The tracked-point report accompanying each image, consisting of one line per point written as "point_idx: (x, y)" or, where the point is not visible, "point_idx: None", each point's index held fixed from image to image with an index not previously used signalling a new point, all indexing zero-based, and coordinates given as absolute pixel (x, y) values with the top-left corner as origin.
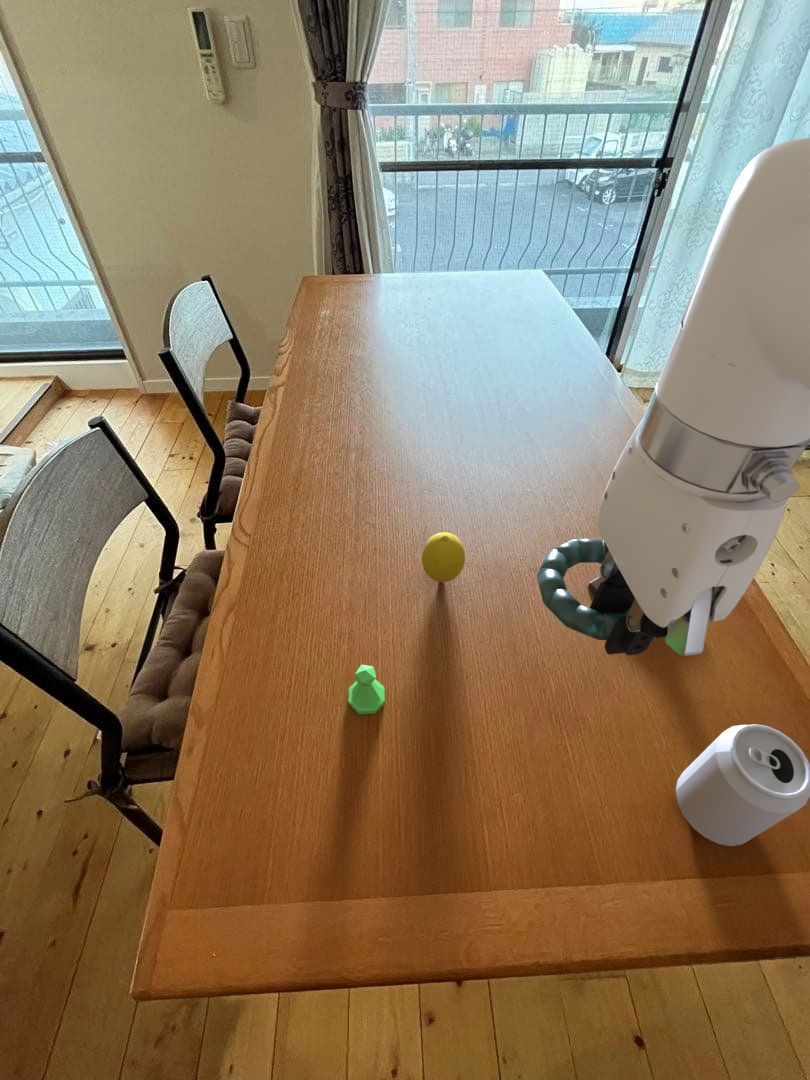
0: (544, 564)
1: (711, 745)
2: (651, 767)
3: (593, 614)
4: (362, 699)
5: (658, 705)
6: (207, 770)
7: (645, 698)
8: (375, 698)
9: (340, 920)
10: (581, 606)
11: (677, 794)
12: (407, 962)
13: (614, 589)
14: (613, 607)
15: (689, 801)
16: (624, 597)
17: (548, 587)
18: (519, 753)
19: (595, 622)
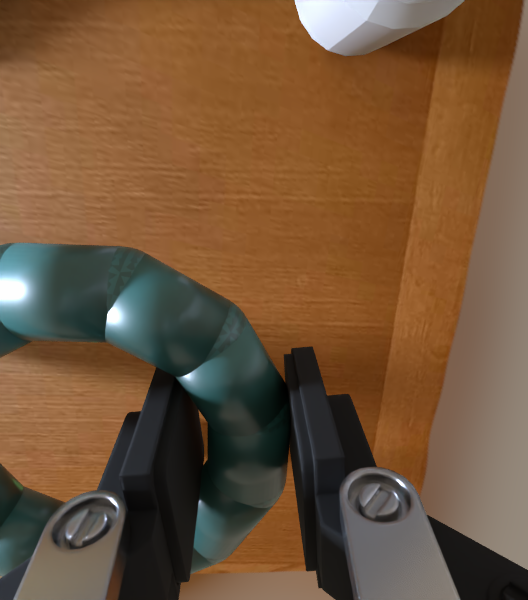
0: None
1: (332, 3)
2: (282, 71)
3: (230, 526)
4: None
5: (174, 6)
6: (243, 558)
7: (161, 28)
8: None
9: (388, 454)
10: (196, 543)
11: (335, 52)
12: (432, 405)
13: (184, 567)
14: (192, 451)
15: (363, 50)
16: (183, 472)
17: None
18: (246, 267)
19: (255, 520)
